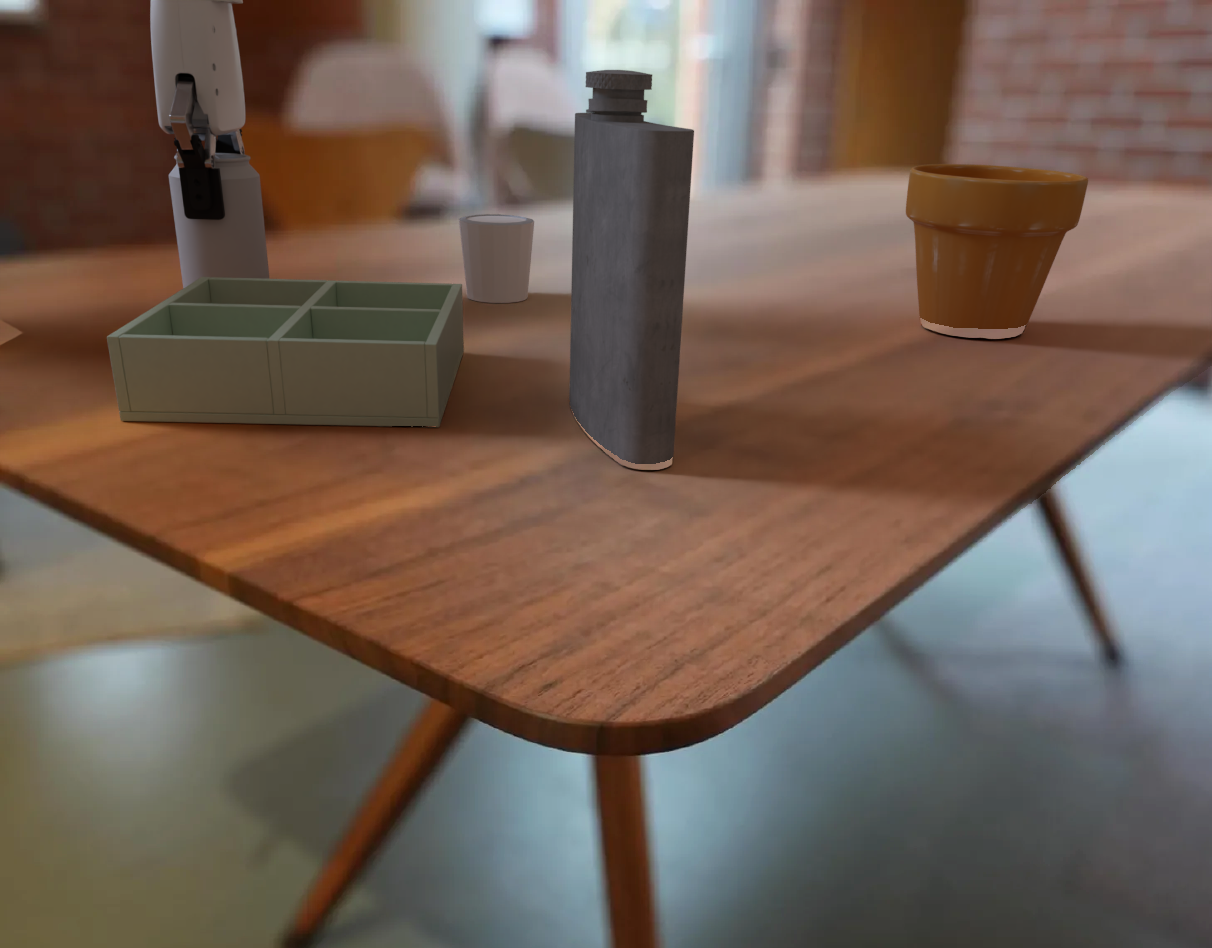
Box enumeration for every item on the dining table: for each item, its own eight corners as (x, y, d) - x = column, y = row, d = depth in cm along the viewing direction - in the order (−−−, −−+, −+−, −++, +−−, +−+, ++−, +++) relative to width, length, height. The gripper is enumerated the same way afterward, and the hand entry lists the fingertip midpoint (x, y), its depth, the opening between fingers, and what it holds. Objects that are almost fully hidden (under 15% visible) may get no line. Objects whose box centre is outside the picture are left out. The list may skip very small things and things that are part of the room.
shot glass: (520, 288, 108) (520, 212, 105) (544, 302, 103) (544, 223, 100) (451, 291, 106) (449, 214, 103) (472, 306, 100) (470, 224, 97)
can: (207, 308, 96) (188, 158, 90) (170, 294, 101) (150, 151, 95) (286, 299, 100) (273, 156, 95) (248, 285, 105) (233, 148, 100)
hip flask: (680, 469, 62) (706, 75, 54) (609, 473, 62) (625, 72, 53) (610, 392, 76) (622, 68, 67) (552, 394, 75) (556, 65, 66)
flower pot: (955, 353, 90) (985, 181, 84) (856, 316, 102) (877, 163, 96) (1091, 343, 95) (1128, 180, 89) (982, 309, 106) (1008, 163, 101)
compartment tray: (120, 421, 67) (106, 336, 65) (209, 346, 84) (201, 276, 82) (439, 427, 68) (436, 344, 66) (463, 352, 85) (462, 283, 83)
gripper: (177, -15, 97) (204, 199, 105) (104, -28, 81) (141, 225, 89) (265, -12, 97) (284, 201, 105) (208, -24, 82) (236, 228, 90)
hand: (218, 211), depth 97 cm, fingers closed on can, 7 cm apart
